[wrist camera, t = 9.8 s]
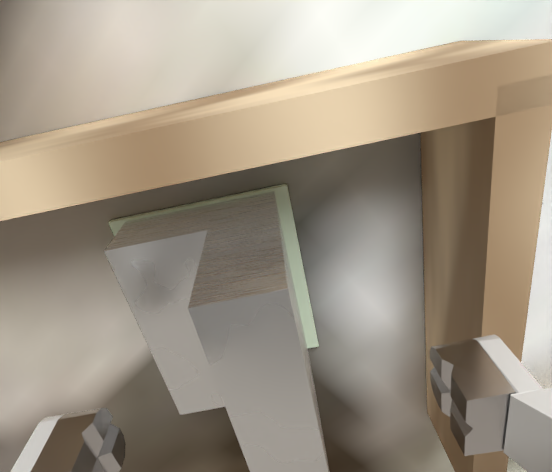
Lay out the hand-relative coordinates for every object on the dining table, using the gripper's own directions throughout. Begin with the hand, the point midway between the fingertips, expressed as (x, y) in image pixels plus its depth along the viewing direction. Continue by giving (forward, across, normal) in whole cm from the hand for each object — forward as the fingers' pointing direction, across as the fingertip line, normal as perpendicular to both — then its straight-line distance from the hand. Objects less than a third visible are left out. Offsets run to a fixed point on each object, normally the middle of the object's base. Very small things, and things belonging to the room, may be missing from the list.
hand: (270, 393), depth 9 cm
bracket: (+5, +2, 0) cm, 5 cm away
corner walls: (+5, +1, +1) cm, 5 cm away
